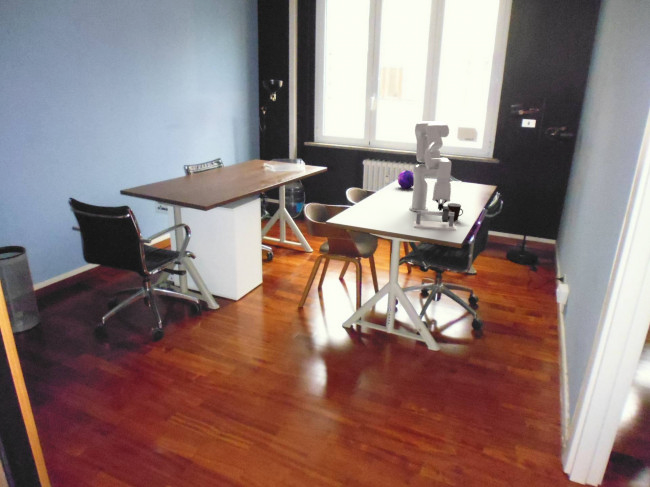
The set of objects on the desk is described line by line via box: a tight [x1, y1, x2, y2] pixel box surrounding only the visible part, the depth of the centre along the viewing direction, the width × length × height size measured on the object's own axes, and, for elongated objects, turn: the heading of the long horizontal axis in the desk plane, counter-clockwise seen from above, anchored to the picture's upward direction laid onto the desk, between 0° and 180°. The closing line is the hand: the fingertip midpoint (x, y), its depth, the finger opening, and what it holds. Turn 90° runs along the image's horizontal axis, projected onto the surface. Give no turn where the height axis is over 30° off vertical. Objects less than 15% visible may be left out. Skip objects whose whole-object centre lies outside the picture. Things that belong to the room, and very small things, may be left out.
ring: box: [441, 205, 449, 222], centre depth 294 cm, size 8×3×8 cm, turn 170°
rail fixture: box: [413, 210, 457, 231], centre depth 296 cm, size 13×25×9 cm, turn 80°
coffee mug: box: [447, 202, 464, 222], centre depth 308 cm, size 12×9×10 cm
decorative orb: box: [397, 169, 414, 190], centre depth 397 cm, size 15×15×15 cm
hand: (440, 210), depth 293 cm, fingers closed
